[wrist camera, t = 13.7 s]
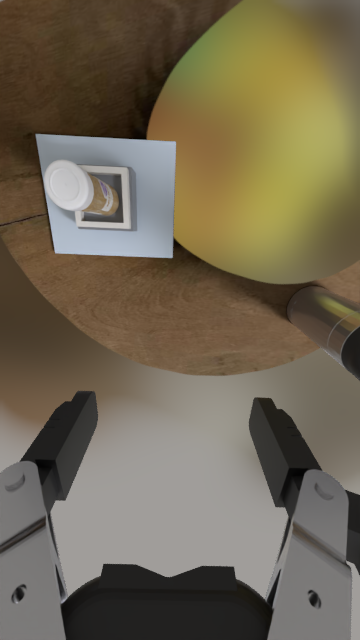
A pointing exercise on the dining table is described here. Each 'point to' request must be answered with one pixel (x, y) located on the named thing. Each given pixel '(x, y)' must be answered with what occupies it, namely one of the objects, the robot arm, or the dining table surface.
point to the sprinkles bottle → (79, 189)
